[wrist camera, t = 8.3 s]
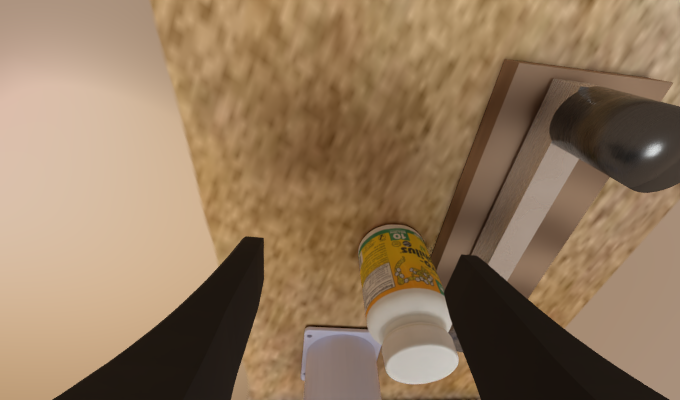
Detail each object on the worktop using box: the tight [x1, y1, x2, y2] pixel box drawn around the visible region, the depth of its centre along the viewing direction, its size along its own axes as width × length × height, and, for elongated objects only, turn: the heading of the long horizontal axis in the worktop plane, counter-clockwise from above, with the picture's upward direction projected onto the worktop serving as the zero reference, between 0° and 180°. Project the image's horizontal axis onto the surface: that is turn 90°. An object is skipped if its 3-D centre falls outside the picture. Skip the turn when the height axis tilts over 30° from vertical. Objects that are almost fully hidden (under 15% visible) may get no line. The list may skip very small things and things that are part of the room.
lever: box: [448, 78, 680, 352], centre depth 18 cm, size 20×4×6 cm, turn 173°
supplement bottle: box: [358, 224, 458, 384], centre depth 20 cm, size 5×5×10 cm
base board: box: [431, 59, 673, 299], centre depth 22 cm, size 22×9×2 cm, turn 173°
